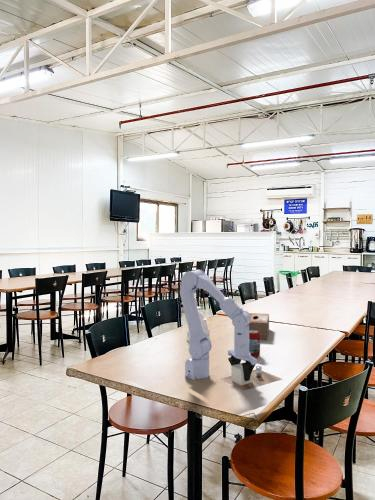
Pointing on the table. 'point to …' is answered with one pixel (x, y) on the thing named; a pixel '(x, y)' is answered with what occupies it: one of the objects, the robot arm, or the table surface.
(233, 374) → the plaster cube
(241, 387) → the board
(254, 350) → the beverage can
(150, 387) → the table surface
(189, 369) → the robot arm
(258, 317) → the tissue box cover
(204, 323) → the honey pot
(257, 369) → the stub
